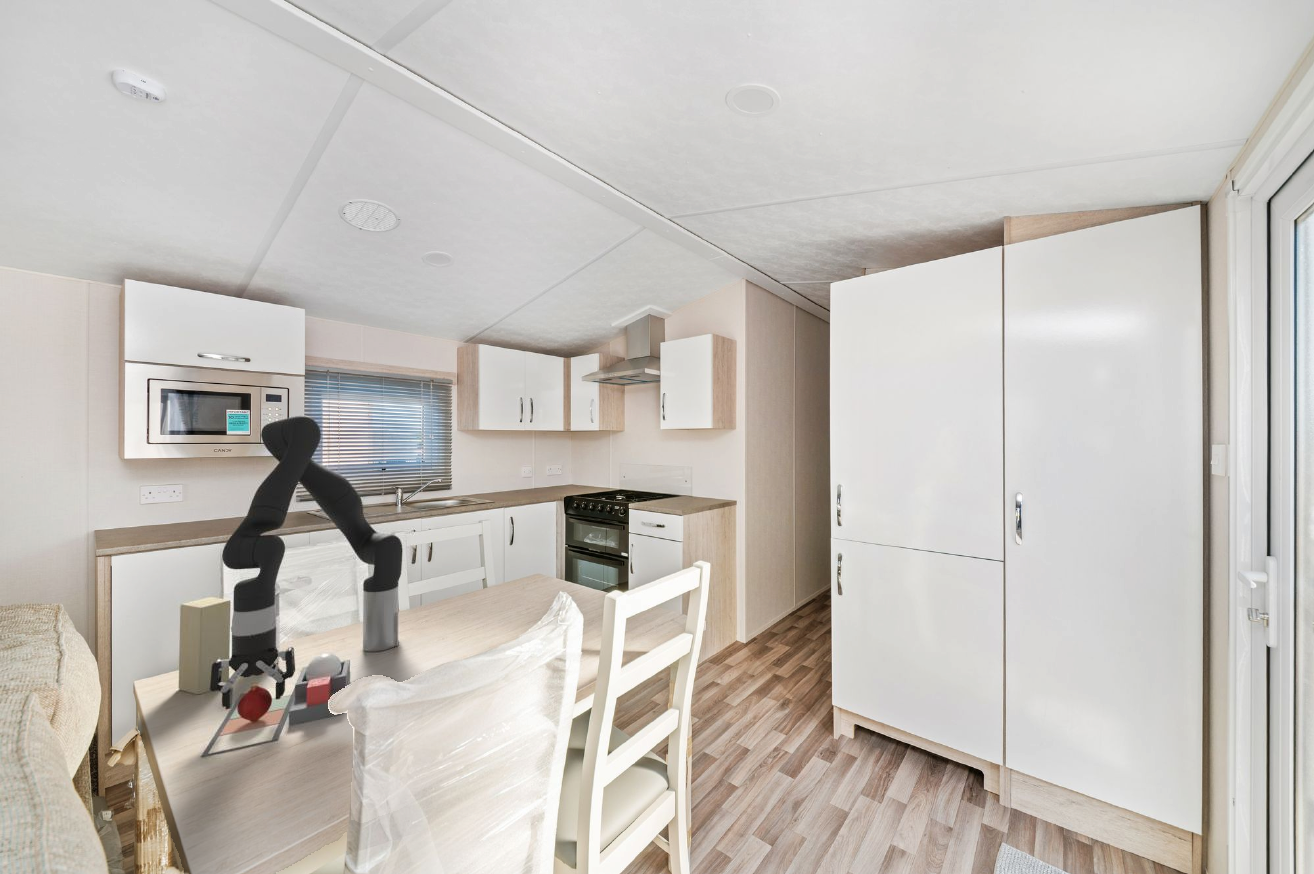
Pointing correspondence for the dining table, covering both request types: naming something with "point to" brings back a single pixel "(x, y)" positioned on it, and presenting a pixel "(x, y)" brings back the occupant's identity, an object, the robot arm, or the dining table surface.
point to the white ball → (323, 667)
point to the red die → (318, 690)
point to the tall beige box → (203, 642)
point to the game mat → (252, 725)
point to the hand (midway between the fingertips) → (254, 702)
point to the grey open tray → (317, 711)
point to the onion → (254, 703)
